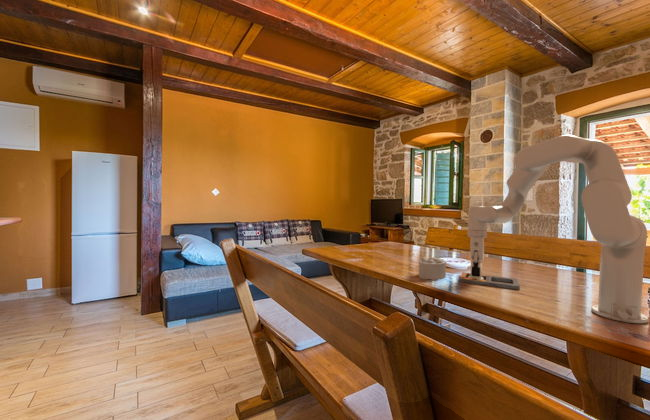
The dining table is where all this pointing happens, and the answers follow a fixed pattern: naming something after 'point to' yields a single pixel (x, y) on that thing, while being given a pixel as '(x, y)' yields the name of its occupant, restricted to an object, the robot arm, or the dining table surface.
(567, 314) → the dining table surface
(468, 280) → the grey slotted board
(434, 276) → the lumpy-topped squat cylinder
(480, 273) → the flanged peg
